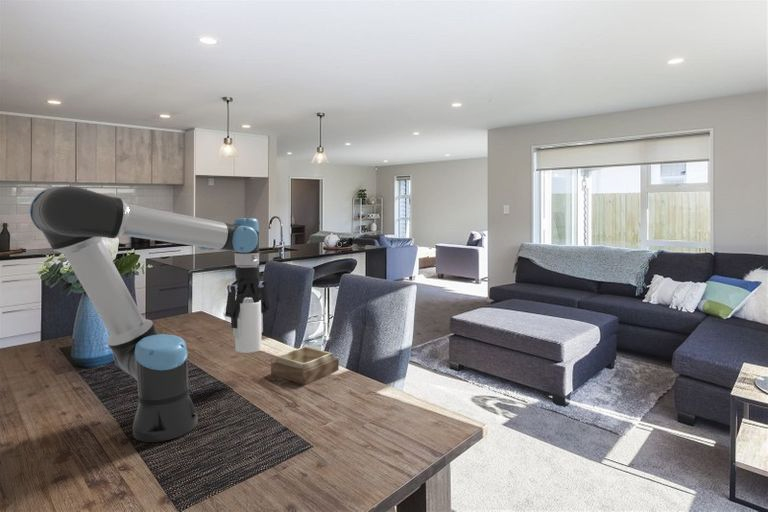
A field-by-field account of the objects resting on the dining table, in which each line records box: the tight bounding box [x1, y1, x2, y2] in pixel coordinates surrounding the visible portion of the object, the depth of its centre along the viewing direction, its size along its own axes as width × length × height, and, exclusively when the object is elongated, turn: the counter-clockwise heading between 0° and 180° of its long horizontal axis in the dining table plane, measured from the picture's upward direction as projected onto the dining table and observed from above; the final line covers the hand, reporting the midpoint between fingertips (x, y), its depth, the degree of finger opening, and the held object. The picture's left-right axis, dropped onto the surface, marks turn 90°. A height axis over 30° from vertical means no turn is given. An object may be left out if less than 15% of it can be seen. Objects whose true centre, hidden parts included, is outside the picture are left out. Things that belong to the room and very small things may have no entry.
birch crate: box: [275, 345, 334, 371], centre depth 152 cm, size 13×13×6 cm
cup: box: [234, 298, 263, 354], centre depth 146 cm, size 8×8×16 cm
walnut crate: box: [270, 356, 340, 386], centre depth 152 cm, size 16×16×5 cm
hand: (248, 334), depth 147 cm, fingers closed on cup, 8 cm apart
